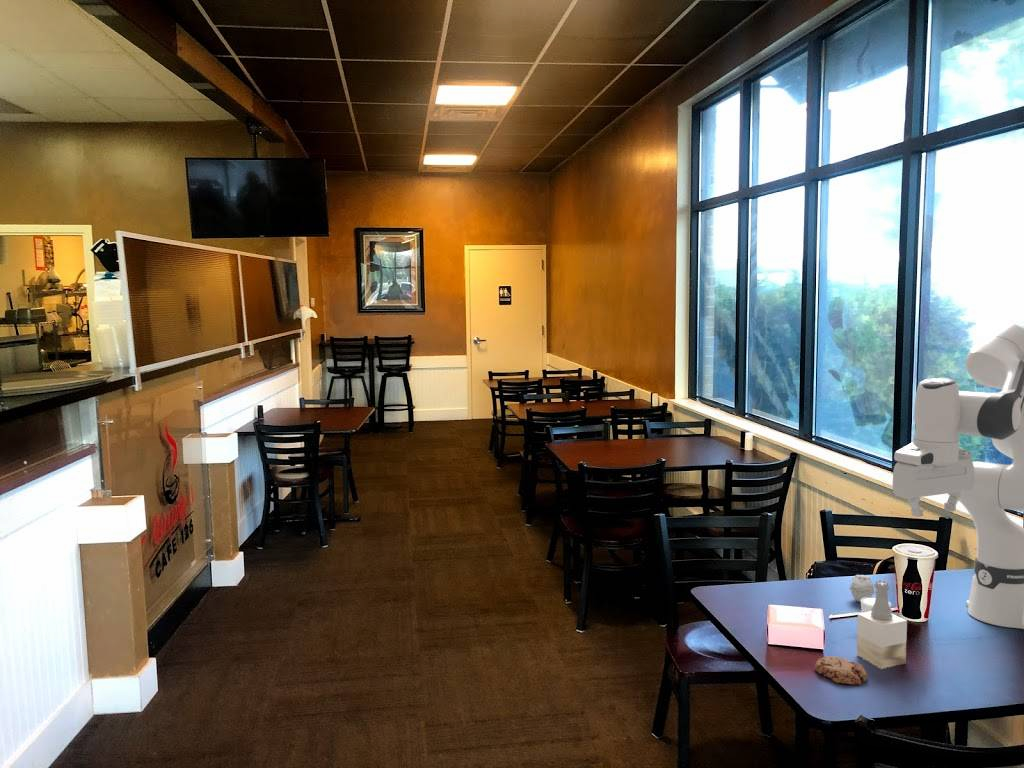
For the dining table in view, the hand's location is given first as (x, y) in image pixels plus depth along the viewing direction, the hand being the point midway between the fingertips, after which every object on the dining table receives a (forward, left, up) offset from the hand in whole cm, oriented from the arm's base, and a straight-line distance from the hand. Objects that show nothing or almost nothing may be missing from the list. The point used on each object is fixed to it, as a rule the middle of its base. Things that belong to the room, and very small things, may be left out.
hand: (933, 513), depth 168 cm
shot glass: (0, -16, -33) cm, 37 cm away
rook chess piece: (+11, -3, -23) cm, 26 cm away
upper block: (+11, -3, -28) cm, 30 cm away
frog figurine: (-10, -31, -33) cm, 47 cm away
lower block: (+11, -3, -33) cm, 35 cm away
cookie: (+24, -1, -34) cm, 41 cm away
